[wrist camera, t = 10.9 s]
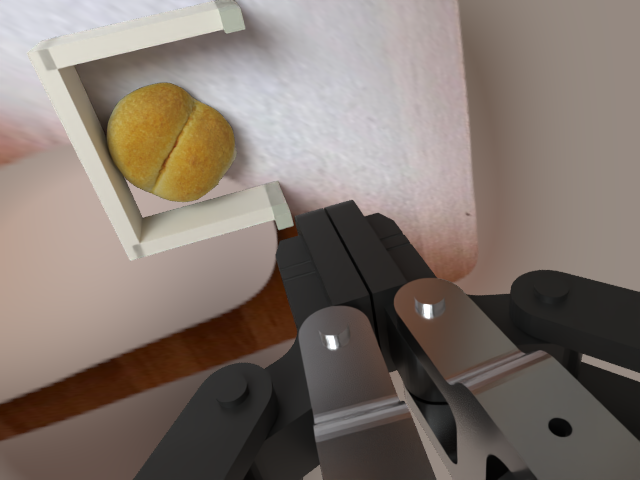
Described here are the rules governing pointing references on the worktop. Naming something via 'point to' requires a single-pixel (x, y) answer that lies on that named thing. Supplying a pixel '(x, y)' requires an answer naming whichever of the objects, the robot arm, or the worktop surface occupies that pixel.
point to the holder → (91, 143)
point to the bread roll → (170, 142)
